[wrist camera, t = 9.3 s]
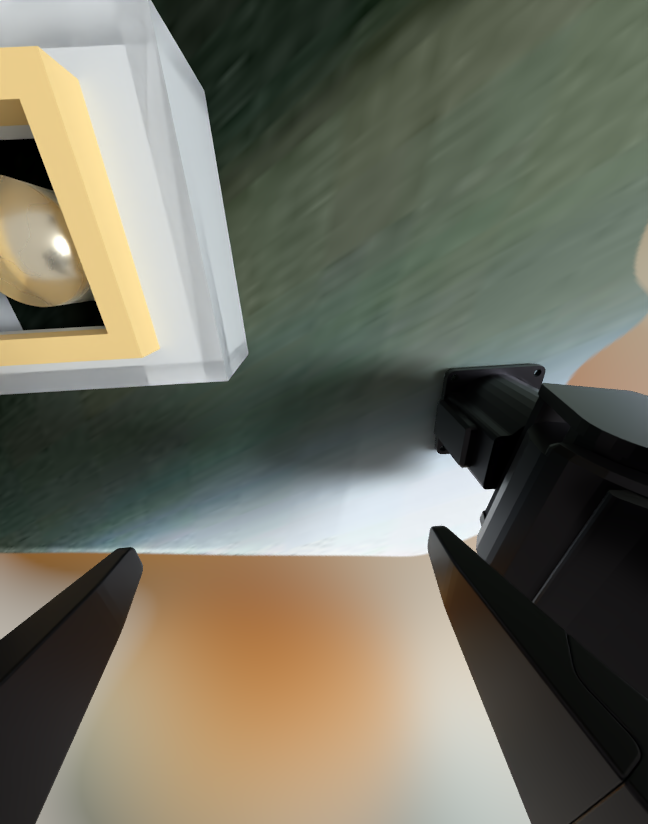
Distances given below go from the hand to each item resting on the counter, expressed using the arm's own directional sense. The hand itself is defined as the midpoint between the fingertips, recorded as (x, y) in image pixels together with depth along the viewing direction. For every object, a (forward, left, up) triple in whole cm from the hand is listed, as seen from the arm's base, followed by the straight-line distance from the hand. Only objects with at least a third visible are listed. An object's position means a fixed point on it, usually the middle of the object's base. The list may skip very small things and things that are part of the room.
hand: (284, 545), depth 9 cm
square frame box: (+10, -9, -12) cm, 18 cm away
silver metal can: (+10, -9, -12) cm, 18 cm away
